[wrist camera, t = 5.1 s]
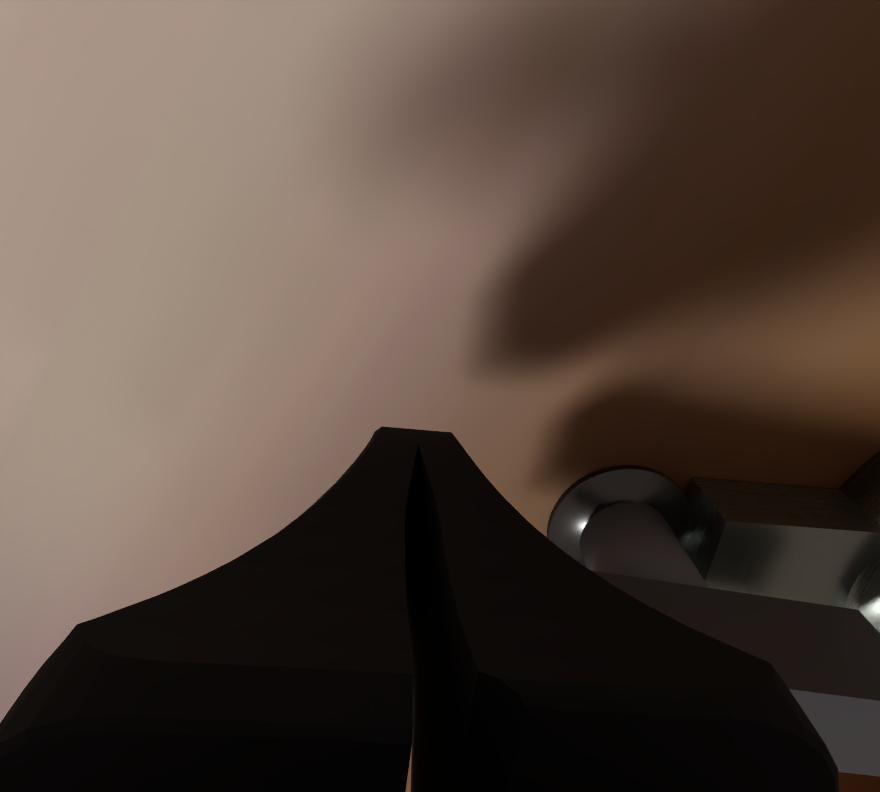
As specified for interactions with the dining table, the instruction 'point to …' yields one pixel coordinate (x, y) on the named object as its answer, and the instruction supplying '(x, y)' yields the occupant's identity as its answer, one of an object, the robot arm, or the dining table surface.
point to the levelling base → (752, 532)
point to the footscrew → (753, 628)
